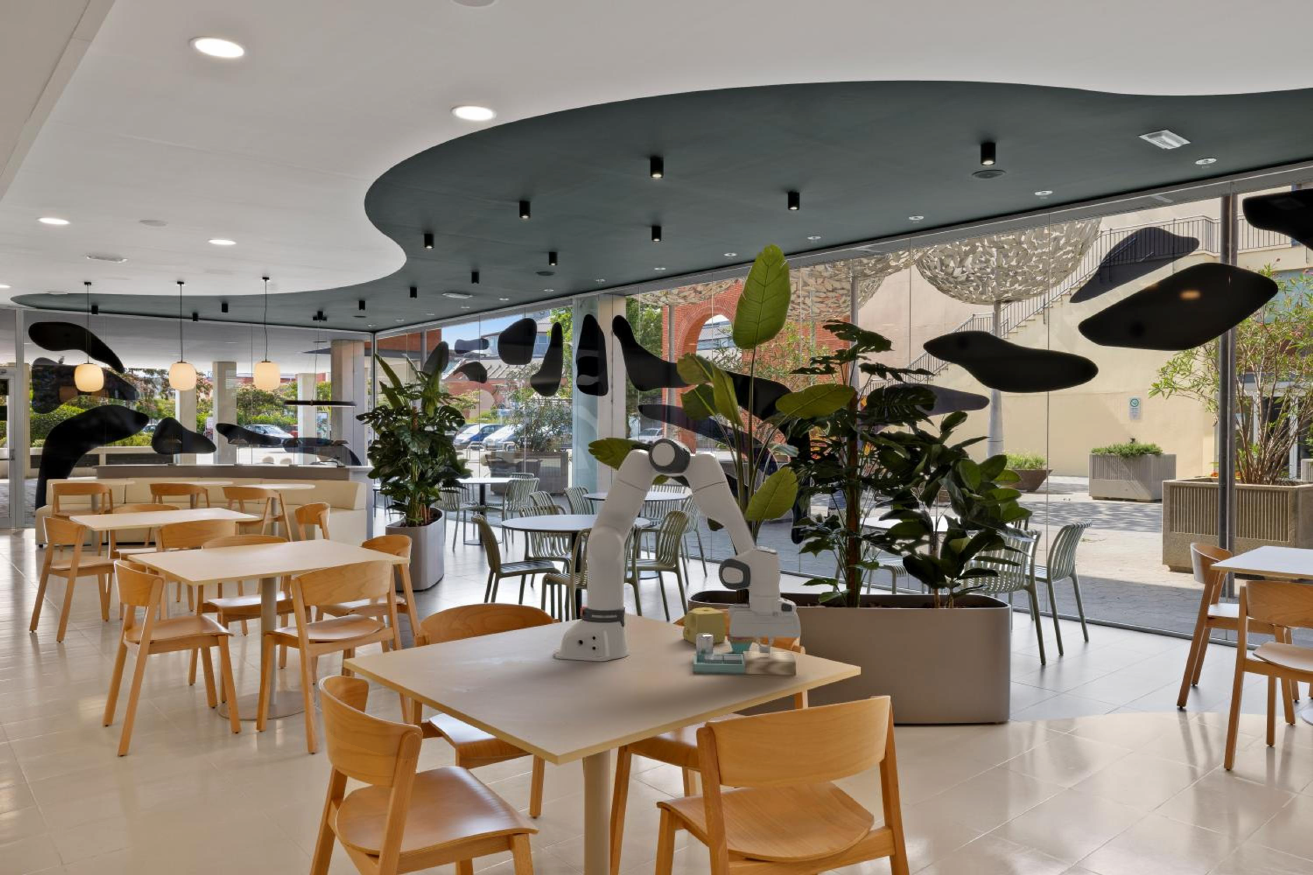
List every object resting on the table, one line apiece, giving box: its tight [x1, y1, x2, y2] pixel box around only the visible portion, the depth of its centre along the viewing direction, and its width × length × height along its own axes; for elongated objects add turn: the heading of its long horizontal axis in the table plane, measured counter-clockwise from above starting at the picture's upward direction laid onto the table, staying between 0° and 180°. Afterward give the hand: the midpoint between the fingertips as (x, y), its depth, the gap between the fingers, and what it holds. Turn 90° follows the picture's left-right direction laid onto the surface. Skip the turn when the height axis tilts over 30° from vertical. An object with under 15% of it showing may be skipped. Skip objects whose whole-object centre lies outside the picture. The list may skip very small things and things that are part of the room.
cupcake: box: [726, 632, 756, 654], centre depth 278 cm, size 9×8×12 cm
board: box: [743, 650, 797, 676], centre depth 257 cm, size 14×12×4 cm
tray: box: [693, 653, 746, 675], centre depth 258 cm, size 14×12×2 cm
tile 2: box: [723, 655, 742, 664], centre depth 258 cm, size 5×5×2 cm
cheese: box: [682, 606, 727, 645], centre depth 293 cm, size 10×11×10 cm
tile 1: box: [705, 655, 722, 664], centre depth 258 cm, size 5×5×2 cm
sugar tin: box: [695, 633, 714, 654], centre depth 269 cm, size 5×5×7 cm
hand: (764, 652), depth 257 cm, fingers closed
